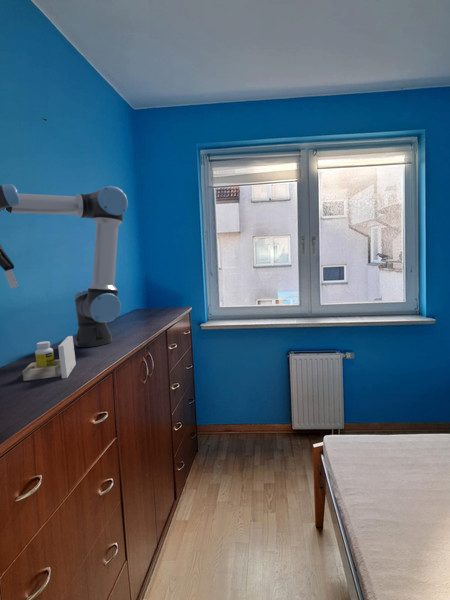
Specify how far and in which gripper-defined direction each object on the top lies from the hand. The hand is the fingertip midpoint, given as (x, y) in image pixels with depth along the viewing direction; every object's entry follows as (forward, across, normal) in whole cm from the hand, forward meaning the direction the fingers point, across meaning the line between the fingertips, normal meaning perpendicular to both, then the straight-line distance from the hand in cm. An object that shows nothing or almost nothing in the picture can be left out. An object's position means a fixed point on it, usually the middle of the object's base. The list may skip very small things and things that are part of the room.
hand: (5, 290), depth 148 cm
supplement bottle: (+30, +14, +9) cm, 34 cm away
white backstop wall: (+32, +12, +16) cm, 38 cm away
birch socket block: (+30, +13, +9) cm, 34 cm away
